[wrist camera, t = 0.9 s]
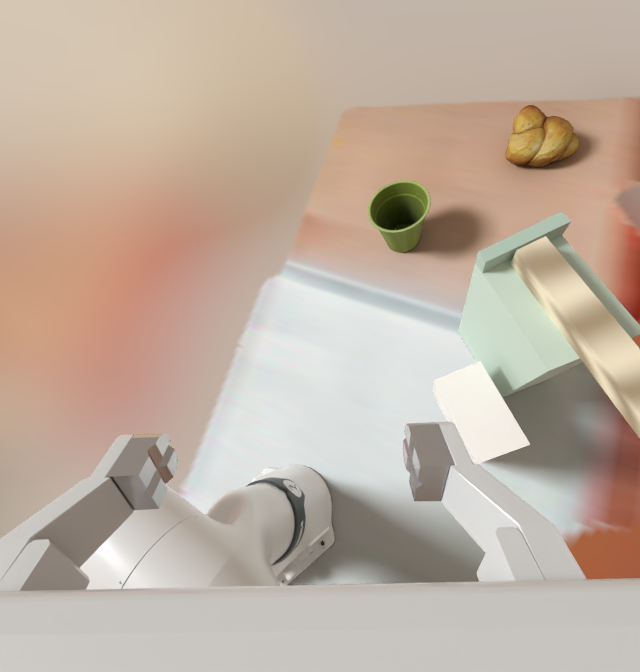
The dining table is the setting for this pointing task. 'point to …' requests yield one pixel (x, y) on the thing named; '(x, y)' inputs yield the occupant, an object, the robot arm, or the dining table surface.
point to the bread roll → (540, 138)
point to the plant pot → (400, 213)
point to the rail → (584, 324)
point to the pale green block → (524, 313)
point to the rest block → (478, 413)
